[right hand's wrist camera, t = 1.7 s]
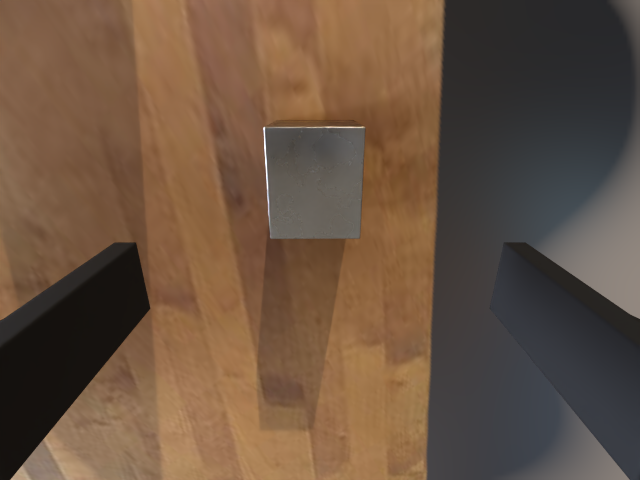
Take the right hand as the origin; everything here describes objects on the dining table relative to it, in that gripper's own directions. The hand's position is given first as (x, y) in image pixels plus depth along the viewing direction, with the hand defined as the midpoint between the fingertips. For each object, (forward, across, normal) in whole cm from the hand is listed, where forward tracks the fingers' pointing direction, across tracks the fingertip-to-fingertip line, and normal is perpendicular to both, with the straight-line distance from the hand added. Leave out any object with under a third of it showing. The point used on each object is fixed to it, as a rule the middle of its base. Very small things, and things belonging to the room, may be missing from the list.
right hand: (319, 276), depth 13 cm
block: (+21, 0, 0) cm, 21 cm away
